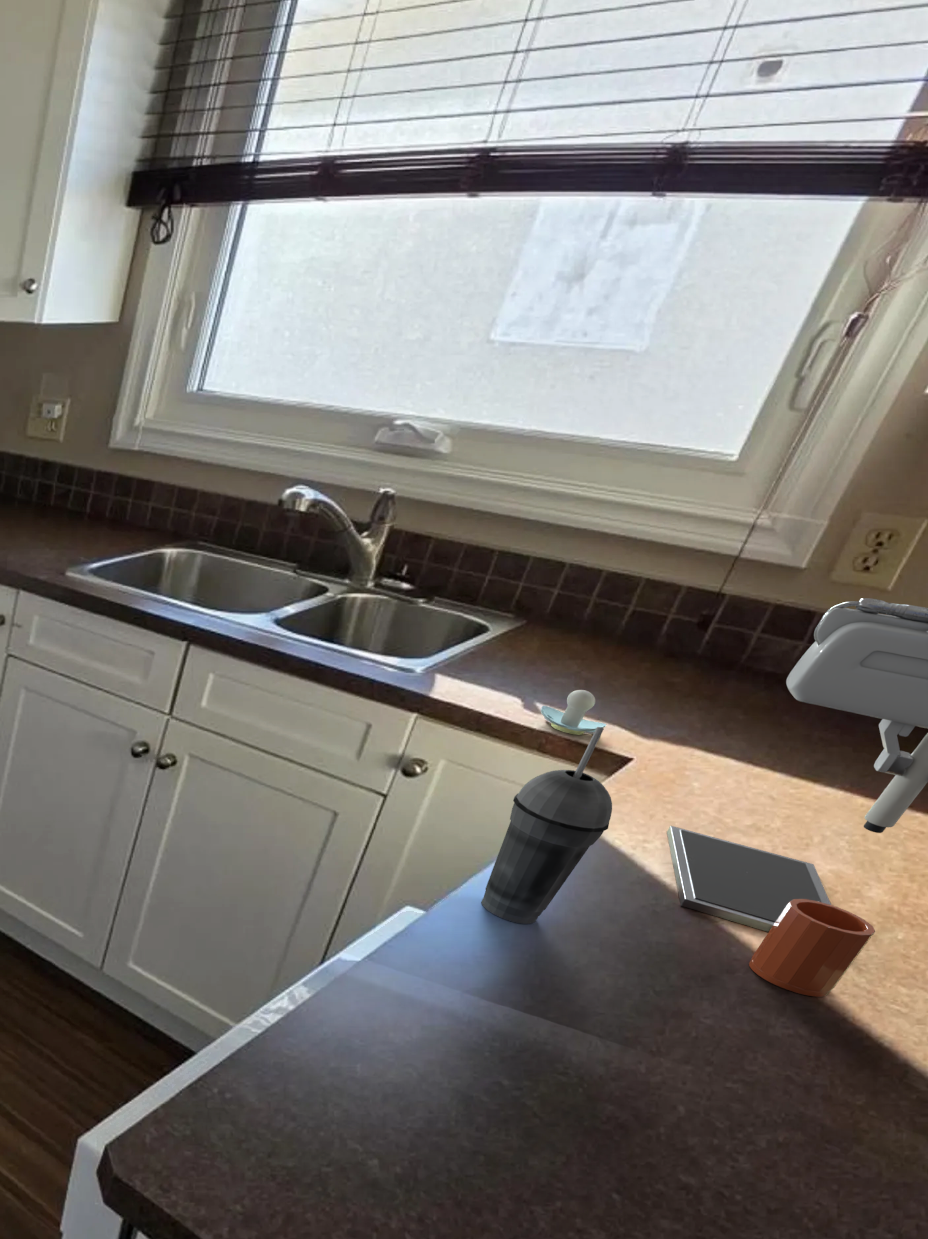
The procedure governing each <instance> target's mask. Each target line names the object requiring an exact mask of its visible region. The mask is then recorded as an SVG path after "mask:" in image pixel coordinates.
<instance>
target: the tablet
mask: <svg viewBox="0 0 928 1239" xmlns="http://www.w3.org/2000/svg"><path fill="white" fill-rule="evenodd" d="M666 835H667V841H668V845H669V851H670V857H671V861H672V867H673V873H674V877H675V882H676V888H677V893H678V898H679V903H680V906H681V907H684V908H687V909H690V910H694V911H697V912H701V913H704V914H707V915H710V916H714V917H717V918H720V919H723V920H727V921H731V922H733V923H737V924H741V925H744V926H746V927H750V928H753V929H756V930H760V931H763V932H765V933H766V932H767V933H768V932H769V931H770V929H771V928H772V927H773V925H774V924H775V922H776V921H777V919H778V918H779V916H780V915H781V913H782V912H783V910H784V909H785V907H786V906H787V904H788V903H789V902H790V901H792V900H793V899H807V900H813V901H818V902H822V903H826V904H829V905H832V903H831V901H830V899H829V897H828V894H827V892H826V889H825V887H824V884H823V882H822V880H821V878H820V876H819V874H818V871H817V869H816V867H815V864H814V863H812V862H807V861H803V860H800V859H796V858H793V857H789V856H785V855H781V854H778V853H773V852H770V851H766V850H762V849H759V848H756V847H752V846H748V845H744V844H741V843H737V842H734V841H730V840H727V839H726V840H725V839H722V838H718V837H714V836H711V835H708V834H703V833H700V832H697V831H693V830H688V829H685V828H681V827H677V826H674V825H669V827H668V829H667V830H666Z"/></svg>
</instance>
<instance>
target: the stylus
mask: <svg viewBox="0 0 928 1239" xmlns="http://www.w3.org/2000/svg"><path fill="white" fill-rule="evenodd" d="M910 755H911V757H913V759H914V760H913V762H912V763H911V765H910V766H909V767H906V768H905V769H906V772H905V773H904V774H903V775H902V776H898V775H894V777H893V778H892V779H891V780H890V782H889V783H888V785H887V786H886V787H885V788H884V789H883V791H882V793H881V794H880V795H879V796H878V798H877V799H876V801H875V802H874V803H873V804H872V806H871V807H870V808H869V810H868V811H867V812H866V814H865V815H864V820H865V823H864V824H863V828H864V829H865V830H867V831H868V832H869V831H870V832H872V833H876V834H882V833H883V832H884V831H885V830H886V829H887V828H893V827H894V826H896V824H897V823H898V821H899V820H900V819H901V818H902V816H903V815H904V813H905V812H906V811H907V810H908V808H909V807H910V806H911V805H912V803H913V802H914V800H915V799H916V798H917V797H918V795H919V794H920V793H921V792H922V790H923V789H924V788H925V786H926V785H927V784H928V732H926V734H925V735H924V737H923V738H922V740H921V741H920V742H919V743H918V745H917V746H916V747H915V749H914V750H913V751H912V753H910Z"/></svg>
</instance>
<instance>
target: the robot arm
mask: <svg viewBox="0 0 928 1239" xmlns="http://www.w3.org/2000/svg"><path fill="white" fill-rule="evenodd" d="M848 607H855V609H853V608H848ZM813 639H814V642H813V643H812V644H811V645H810V646H809V648H808V649H807V650H806V651H805V652H804V654H803V655H802V656H801V658H800V659H799V660H798V661H797V662H796V664H795V665H794V667H793V668H792V669H791V671H790V672H789V674H788V675H787V677H786V680H785V684H786V687H787V690H788V691H789V693H790V694H791V695H792V696H793V698H794V699H795V700H796V701H798V702H801V703H805V704H810V705H815V706H821V707H825V708H828V709H829V708H830V709H833V710H839V711H844V712H848V713H853V714H858V715H862V716H867V717H871V718H876V719H881V720H880V722H879V723H878V728H879V733H880V734H879V735H880V739H881V743H882V747H883V749H882V751H881V752H880V754H879V755H878V757H877V758H876V760H875V761H874V764H873V768H874V770H875V771H876V772H880V773H884V774H888V775H894V776H895V775H898V776H902V775H903V774H904V773H905V772H906V769H905V768H906V767H909V766H910V765H911V763H912V762H913V760H914V759H913V757H911V753H910V752H908V751H904V750H900V744H899V738H898V735H899V736H900V737H903V738H904V737H905V738H906V737H909V736H910V734H911V733H912V731H913V730H914V729H915V727H919V728H924V729H928V607H924V606H919V605H918V606H917V605H912V604H901V603H900V604H899V603H893V602H886V601H885V600H881V599H876V598H864V597H863V598H860V599H859V600H858V601H857V600H855V601H853V600H852V601H851V600H850V601H845V602H842V603H839V604H836V605H834V606H832V607H830V608H829V609H828V610H827V611H826V612H825V613H824V614H823V615H822V617H821V619H820V620H819V622H818V623H817V625H816V627H815V628H814V632H813Z"/></svg>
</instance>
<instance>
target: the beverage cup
mask: <svg viewBox="0 0 928 1239" xmlns="http://www.w3.org/2000/svg"><path fill="white" fill-rule="evenodd" d="M604 729H605V727H604V728H602V727H597V728H596V730H595V732H594V734H592V736H591V738H590V741H589V742H588V745H587V747H586V749H585V751H584V753H583V755H582V757H581V759H580V761H579V762H578V765H577V767H576V769H575V770H574V769H573V770H572V769H557V770H550V771H547V772H544V773H542V774H539V775H537V776H535V777H533V778H532V779H530V780H528V781H527V782H526V783H525V784H523V786H522V787H521V789H520V790H519V792H518V793H516V794H515V795H514V797H513V805H512V808H511V813H510V816H509V821H510V822H509V824H508V826H507V830H506V832H505V835H504V838H503V841H502V843H501V845H500V849H499V852H498V854H497V856H496V859H495V862H494V865H493V867H492V870H491V873H490V875H489V878H488V881H487V884H486V887H485V890H484V894H483V897H482V899H481V905H482V907H483V908H484V909H485V910H487V911H488V912H490V914H492V915H494V916H496V917H498V918H501V919H503V920H506V921H509V922H512V923H515V924H516V923H517V924H522V925H530V924H534V923H536V922H537V920H538V919H539V917H540V916H542V913H543V912H544V911H546V909H547V908H548V906H549V905H550V904H551V902H552V901H553V899H554V898H555V897H556V895H557V893H558V892H559V891H560V889H561V888H562V887H563V885H564V884H565V882H566V881H567V880H568V878H569V876H570V875H571V874H572V872H573V871H574V870H575V868H576V867H577V865H578V864H579V862H580V861H581V860H582V858H583V857H584V855H585V854H586V853H587V851H588V850H589V848H590V847H592V846H593V845H595V843H596V842H597V841H598V839H600V837H602V836H603V833H604V832H605V831H607V830H609V827H610V826H609V825H610V821H611V818H612V812H613V801H612V797H611V795H610V793H609V791H608V790H607V789H606V787H605V786H604V785H603V783H601V782H600V781H599V780H598V779H597V778H595V777H593V776H592V775H589V773H588V774H587V773H585V772H584V771H585V769H586V766H587V765H588V762H589V760H590V758H591V756H592V755H593V752H594V750H595V748H596V747H597V744H598V742H599V740H600V738H601V736H602V734H603V731H604Z"/></svg>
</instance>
